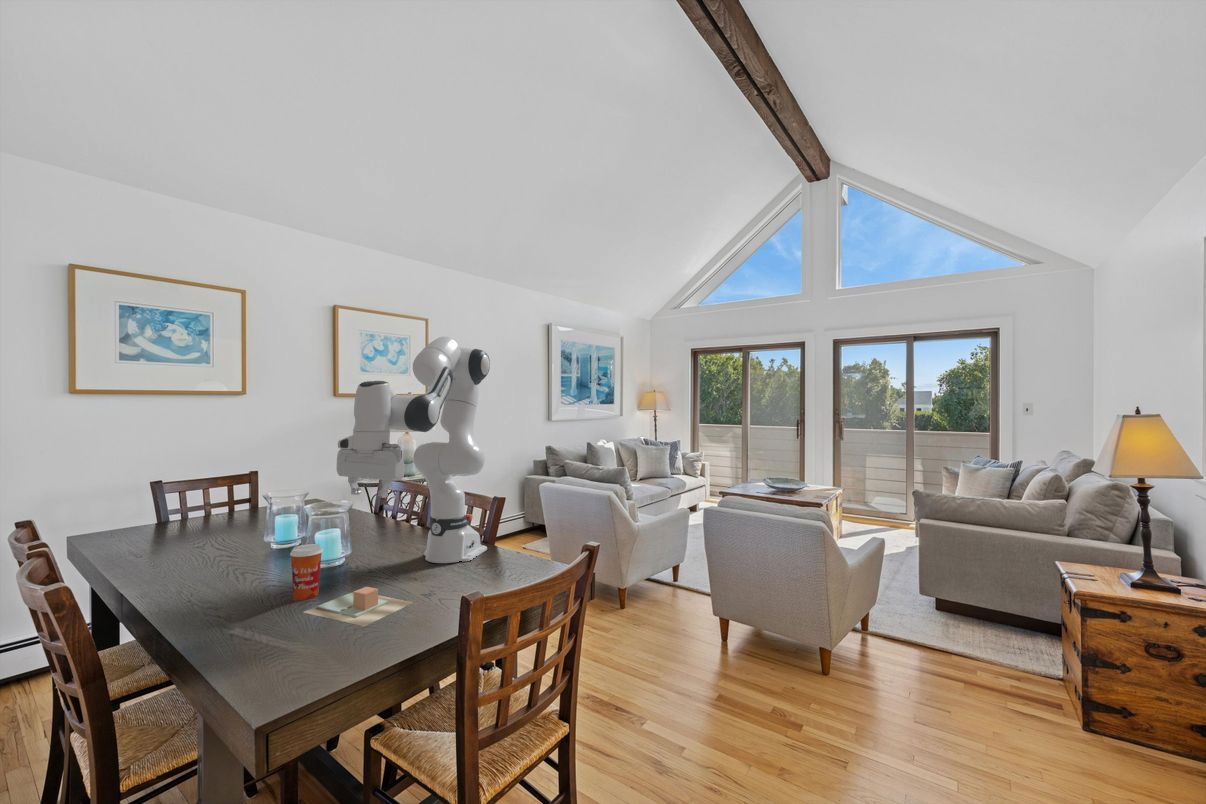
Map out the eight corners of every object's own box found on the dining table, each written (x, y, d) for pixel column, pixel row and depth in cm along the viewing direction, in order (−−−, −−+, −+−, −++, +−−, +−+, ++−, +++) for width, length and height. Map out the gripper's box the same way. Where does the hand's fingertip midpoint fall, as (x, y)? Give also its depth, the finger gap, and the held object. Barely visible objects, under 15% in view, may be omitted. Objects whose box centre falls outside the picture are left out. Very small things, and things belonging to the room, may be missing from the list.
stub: (373, 599, 137) (374, 582, 137) (388, 602, 135) (388, 585, 135) (341, 613, 128) (341, 595, 128) (356, 617, 126) (357, 598, 126)
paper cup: (285, 606, 135) (285, 552, 135) (294, 596, 143) (294, 544, 142) (318, 604, 137) (319, 550, 137) (326, 593, 145) (326, 542, 145)
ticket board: (356, 595, 144) (356, 588, 144) (413, 607, 136) (413, 600, 136) (302, 617, 129) (302, 609, 129) (363, 631, 121) (363, 623, 121)
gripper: (411, 443, 136) (409, 497, 135) (352, 440, 144) (350, 491, 143) (392, 444, 130) (390, 500, 130) (333, 441, 138) (330, 494, 138)
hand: (369, 495), depth 137 cm, fingers open, 8 cm apart
